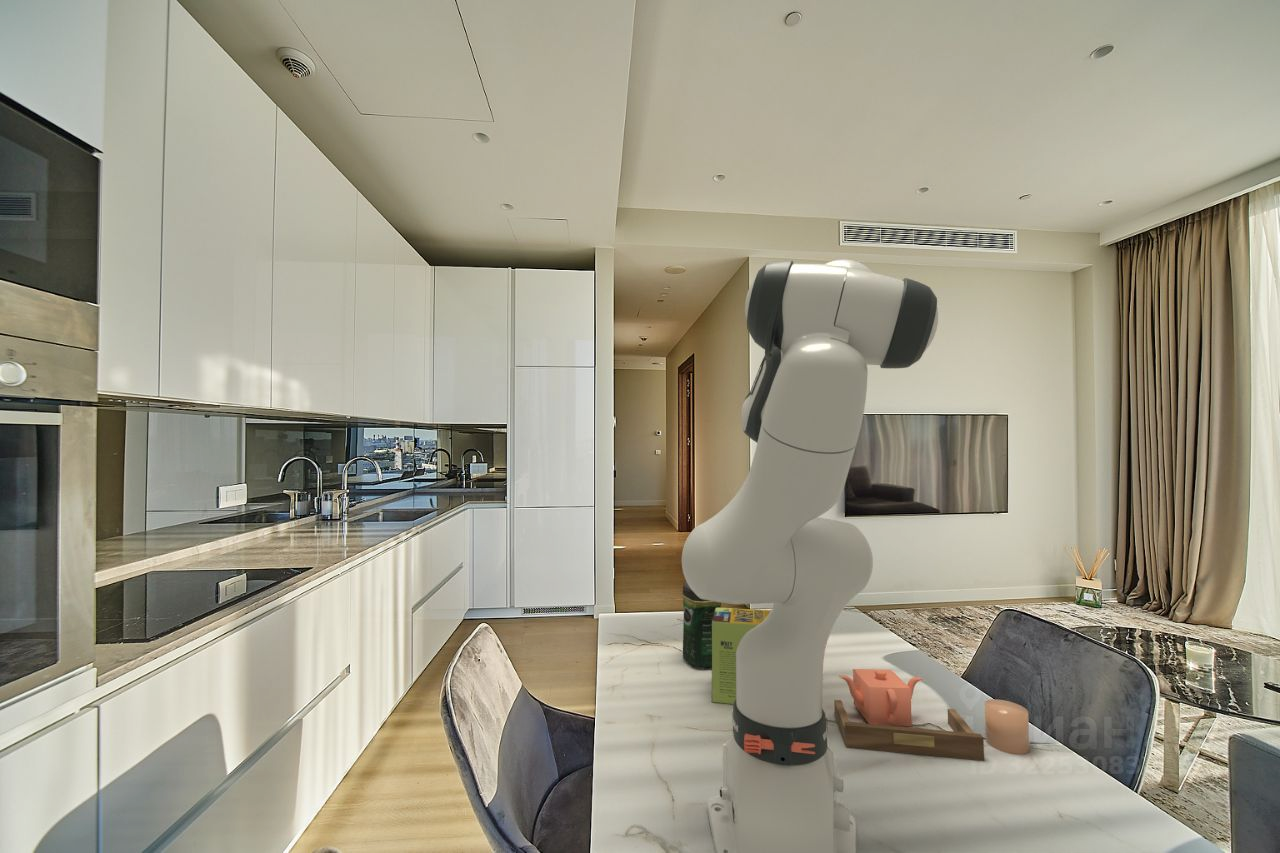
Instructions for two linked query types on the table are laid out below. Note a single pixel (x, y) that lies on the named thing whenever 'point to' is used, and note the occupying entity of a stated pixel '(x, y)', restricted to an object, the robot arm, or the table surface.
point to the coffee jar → (697, 629)
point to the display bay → (912, 737)
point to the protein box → (729, 648)
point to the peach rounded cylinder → (1007, 726)
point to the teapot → (882, 696)
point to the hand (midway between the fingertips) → (807, 527)
